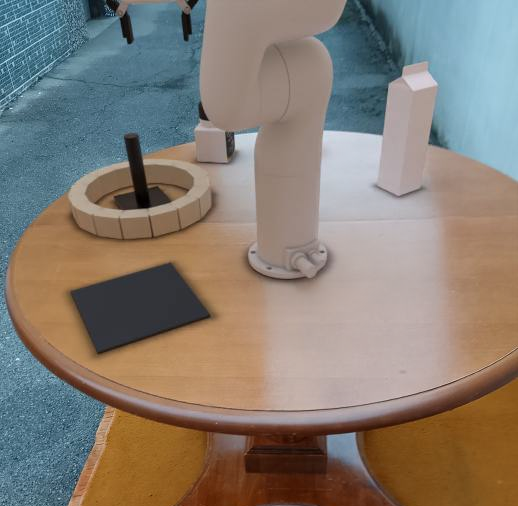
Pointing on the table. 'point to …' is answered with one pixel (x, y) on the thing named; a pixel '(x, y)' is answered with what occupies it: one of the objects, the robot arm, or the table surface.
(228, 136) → the medicine bottle
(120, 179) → the hoop
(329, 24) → the robot arm
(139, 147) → the post
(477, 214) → the table surface
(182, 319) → the mat
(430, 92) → the milk
